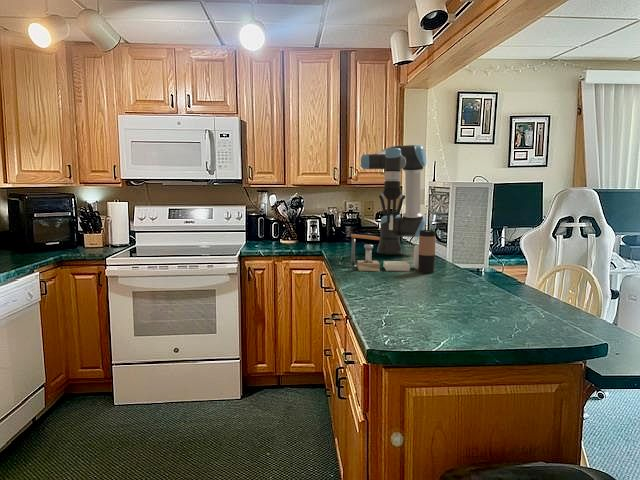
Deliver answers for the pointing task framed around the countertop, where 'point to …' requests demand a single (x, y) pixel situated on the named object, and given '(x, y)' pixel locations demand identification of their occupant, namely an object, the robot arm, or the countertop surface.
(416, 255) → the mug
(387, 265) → the tray
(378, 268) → the block
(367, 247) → the pin
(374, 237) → the bar
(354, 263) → the keeper post
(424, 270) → the travel mug
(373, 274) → the countertop surface
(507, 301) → the countertop surface
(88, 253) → the countertop surface
